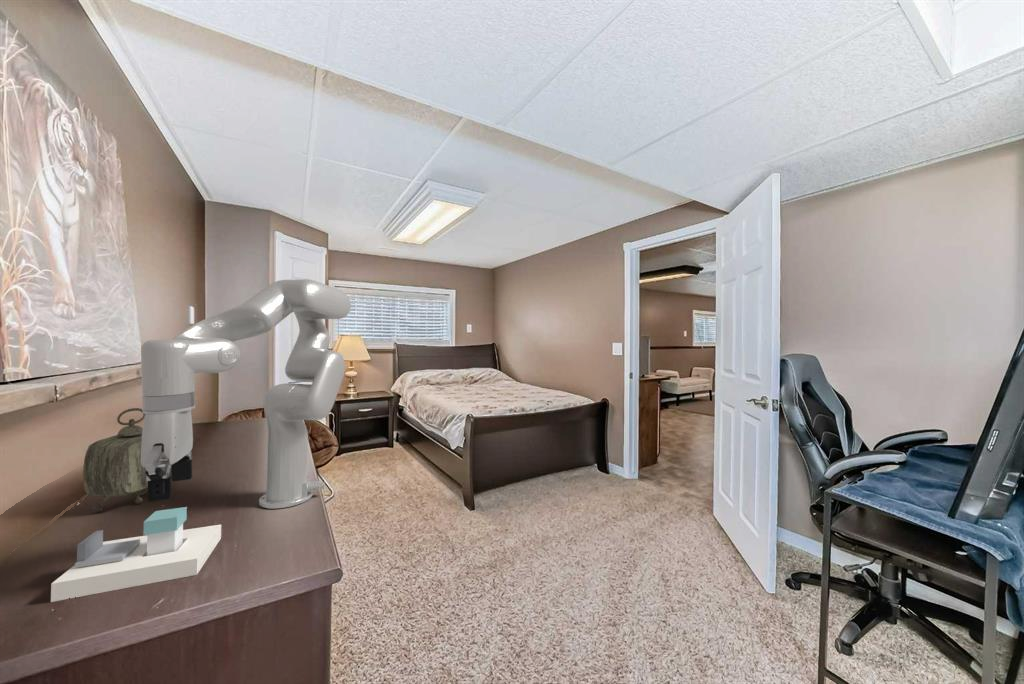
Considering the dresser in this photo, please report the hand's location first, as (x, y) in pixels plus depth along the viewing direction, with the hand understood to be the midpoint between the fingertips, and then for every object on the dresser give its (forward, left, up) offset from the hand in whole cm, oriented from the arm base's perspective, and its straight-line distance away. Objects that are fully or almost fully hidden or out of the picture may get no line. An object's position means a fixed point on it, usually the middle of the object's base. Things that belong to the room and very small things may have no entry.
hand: (171, 489), depth 73 cm
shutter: (+9, +1, -11) cm, 14 cm away
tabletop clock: (+21, -36, -14) cm, 44 cm away
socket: (+3, +1, -14) cm, 14 cm away
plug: (0, +1, -14) cm, 14 cm away
